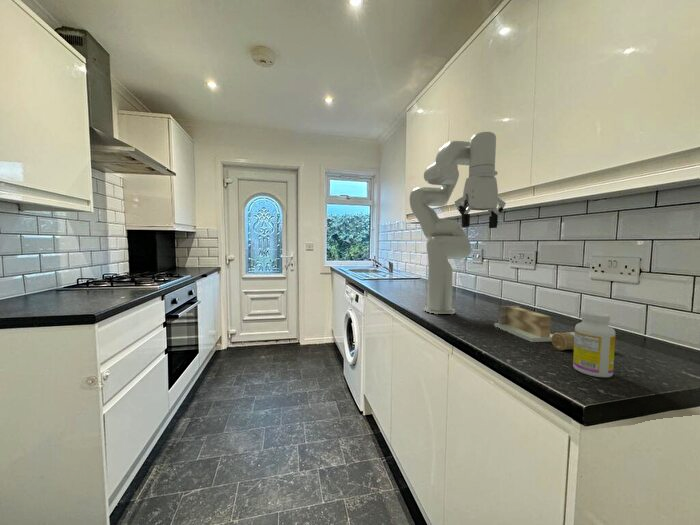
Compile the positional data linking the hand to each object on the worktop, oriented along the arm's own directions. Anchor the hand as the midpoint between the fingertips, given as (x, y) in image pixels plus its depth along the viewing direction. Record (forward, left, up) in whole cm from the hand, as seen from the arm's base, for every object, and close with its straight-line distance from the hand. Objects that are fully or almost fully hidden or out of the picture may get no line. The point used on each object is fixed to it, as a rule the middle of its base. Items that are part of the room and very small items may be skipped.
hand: (479, 227), depth 91 cm
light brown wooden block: (+6, +13, -32) cm, 35 cm away
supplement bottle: (+33, +6, -34) cm, 47 cm away
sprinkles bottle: (+20, +10, -31) cm, 38 cm away
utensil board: (+6, +13, -33) cm, 36 cm away
